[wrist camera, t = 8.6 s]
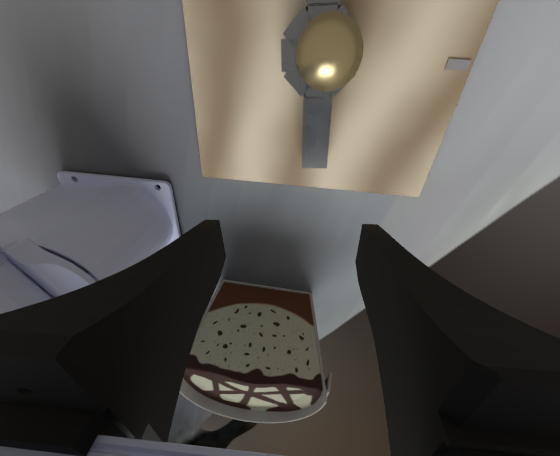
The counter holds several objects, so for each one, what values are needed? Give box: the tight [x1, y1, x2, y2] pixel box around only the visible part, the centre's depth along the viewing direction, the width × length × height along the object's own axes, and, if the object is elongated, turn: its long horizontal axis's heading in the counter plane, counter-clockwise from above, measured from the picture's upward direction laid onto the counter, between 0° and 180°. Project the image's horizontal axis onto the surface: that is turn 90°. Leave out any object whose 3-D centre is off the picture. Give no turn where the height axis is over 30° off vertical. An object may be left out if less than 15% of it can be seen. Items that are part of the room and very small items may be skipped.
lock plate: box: [182, 0, 499, 197], centre depth 14 cm, size 16×16×3 cm
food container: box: [180, 279, 332, 423], centre depth 24 cm, size 12×6×10 cm, turn 84°
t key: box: [281, 0, 361, 168], centre depth 14 cm, size 12×4×2 cm, turn 1°
